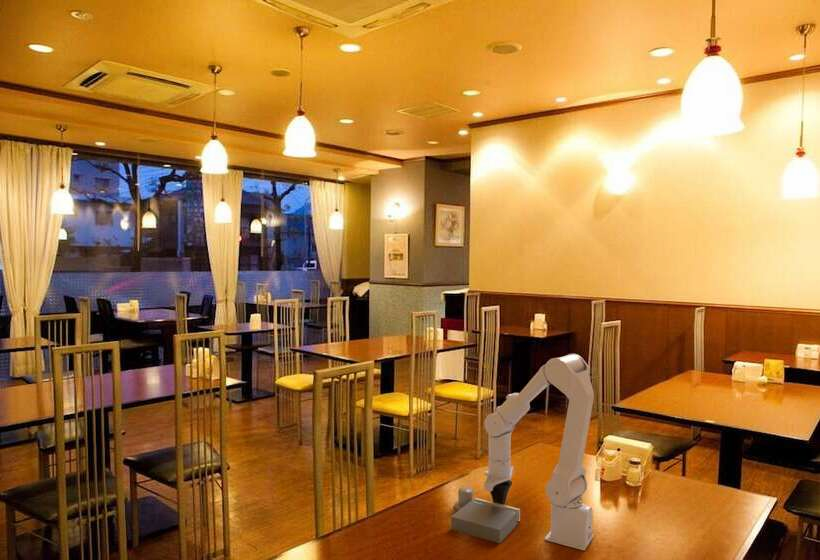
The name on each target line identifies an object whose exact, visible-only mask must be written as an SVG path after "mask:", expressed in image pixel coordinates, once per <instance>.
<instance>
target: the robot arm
mask: <svg viewBox="0 0 820 560" xmlns="http://www.w3.org/2000/svg"><path fill="white" fill-rule="evenodd" d="M589 373H590V366H589V365H588V363H587V362H586V361H585V360H584V358H583V357H582V356H580V355H579V354H576V353H569V354H567V355H564V356H560V357H554V358H553V357H552V358H550V359H549V360H548V361H547V362H546V363H545V364H543V365H542V366H541V367H540V368H539V370H538V371H537V372H536V373H535V375H533V377H532V378H531V379H530V380H529V381H528V383H527V384H526V385H525V386H524V387H523V389H522V390H521V391H520V392H513V393H510V394H509V393H508V394H507V395H506V397H505V399H506V400H505V401H504V402H503V403H502V404H501V405H499V406H496V408H495V412H494V413H489V414H487V415H486V418H485V419H484V421H483V426H484V430H485V431H486V433H487V434H488V464H487V465H488V466H487V467H488V469H487V470H485V471H484V472H483V473H484V476H486V480H485V481H484V483H483V485H484V486H483V490H484V491H487V492H488V491H489V493H490V495H491V498H492V502H494V503H498V504H502V505H506V501H507V497H508V494H509V493H508V492H509V490H510V488H511V487H512V484H513V481H512V480H511V479H512V475H513V474H514V466H513V465H511V450H512V449H511V441H512V440H511V437H512V433H513V431H514V429H515V427H516V424H517V423H518V422H519V421H520V420H521V419H522V418H523V417H524V416H525V415H526V414H527V413H528V412H529V411H530V409H531V405H530V403H531V402H532V401H533V400H534V399H535V398H536V397H537V396H538V395H539V394H540V393H541V392H542V391H544V390H545V389H546V388H547V387H548V386H549V385H553V386H554V387H555V388H557V389H558V390H559V392H561V393H563V394H564V395H565V396H566V398H567V399H568V405H567V411H566V417H565V422H564V427H563V434H562V441H561V447H560V452H559V458H558V462H557V464H556V465H555V468H554V469H553V471H552V473H551V478H550V479H549V480H548V482H547V483H546V486H545V494H546V496H547V498H548V499H549V501H550V531H549V532H548V534H547V535H546V536H545V537H544V540H545V541H547V542H550V543H554V544H558V545H562V546H566V547H569V548H573V549H577V550H581V551H586V549H587V547H588V546H589V544H590V543H591V541H592V540H593V538H594V535H593V531H594V525H593V523H594V522H593V521H594V520H593V519H594V514H593V512H594V511H593V508H592V507H591V506H589V505H586V504H585V503H583V494H585V493H586V491H587V489H588V481H587V478H586V477H587V476H586V474H587V473H586V472H587V469H586V468H585V467H584V466H583V462H584V455H585V451H586V445H587V439H588V438H587V437H588V433H589V427H590V423H591V422H590V421H591V416H592V412H593V411H592V410H593V405H594V399H595V392H594V389H593V386H592V381H591V378H590V377H591V376H590V374H589Z"/></svg>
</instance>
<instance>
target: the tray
mask: <svg viewBox="0 0 820 560" xmlns="http://www.w3.org/2000/svg"><path fill="white" fill-rule="evenodd" d="M473 501H475V502H478V503H482V504H486V505H490V506H494V507H498V508H502V509H506V510H510V511H514V512H517V521H518V522H517V523H520V522H521V508H518V507H517V508H516V507H514V506H510V505H507V504H505V505H502V504H498V503H494V502H493V501H490V500H485V499H481V498H478V497H475V498H473ZM519 521H520V522H519Z"/></svg>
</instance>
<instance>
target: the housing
mask: <svg viewBox="0 0 820 560" xmlns="http://www.w3.org/2000/svg"><path fill="white" fill-rule="evenodd" d="M516 525H517V526H518V522H517V512H514V511H510V510H506V509H502V508H498V507H494V506H490V505H486V504H482V503H478V502H475V501H474V500H473V501H470V502H469V503H467V504H466V505H465V506H464V507H462V508H461V509H460V510H457V511H456V512H455V513H454V514H453V515H451V517H450V530H451V531H454V532H458V533H461V532H462V534H465V535H469V536H472V537H476V538H479V539H483V540H486V541H489V542H493V543H496V544H499V545H500V544H501V543H502V542H503V541H504V540H505V539H506V537H508V535H510V533H511V532H512V531H513V530H514V529H515V528H516V527H517V526H516ZM515 526H516V527H515Z"/></svg>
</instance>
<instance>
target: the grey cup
mask: <svg viewBox="0 0 820 560" xmlns="http://www.w3.org/2000/svg"><path fill="white" fill-rule="evenodd" d="M457 491H458V492H457V493H458V494H457V501H455V502H454V508H455V509H456V510H457V511H459V510H460V509H461V508H462V507H464V506H465V505H466V504H467V503H469V502H470V501H474V489H472V488H471V487H468V486H465V487H464V486H463V487H459V488H458V490H457Z"/></svg>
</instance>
